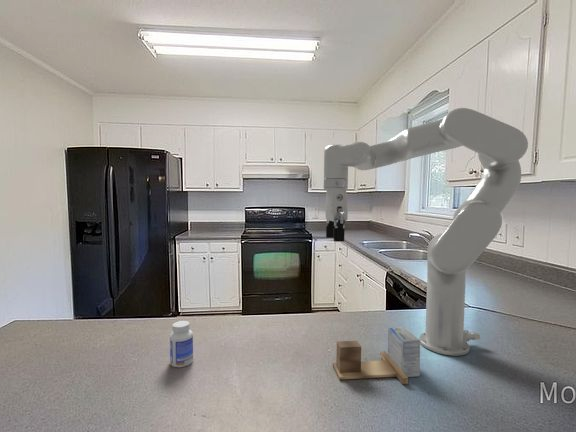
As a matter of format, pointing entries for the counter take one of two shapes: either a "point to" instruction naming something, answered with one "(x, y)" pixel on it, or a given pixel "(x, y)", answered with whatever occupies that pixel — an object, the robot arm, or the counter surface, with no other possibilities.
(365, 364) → the wooden t-shaped piece
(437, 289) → the robot arm
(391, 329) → the medicine box
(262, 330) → the counter surface
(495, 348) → the counter surface
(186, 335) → the pill bottle
